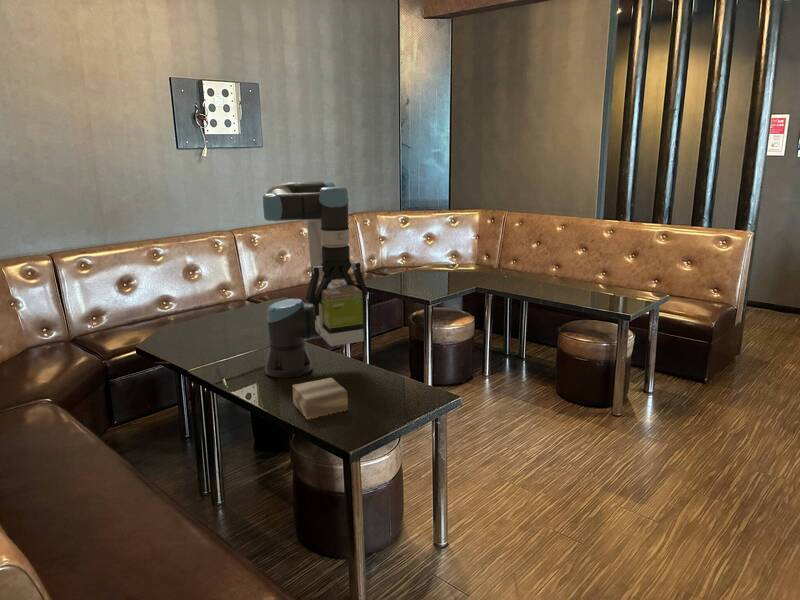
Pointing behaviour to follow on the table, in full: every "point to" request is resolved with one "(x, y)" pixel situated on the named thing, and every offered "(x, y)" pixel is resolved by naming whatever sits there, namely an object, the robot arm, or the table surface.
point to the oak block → (319, 398)
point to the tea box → (341, 314)
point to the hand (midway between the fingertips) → (338, 323)
